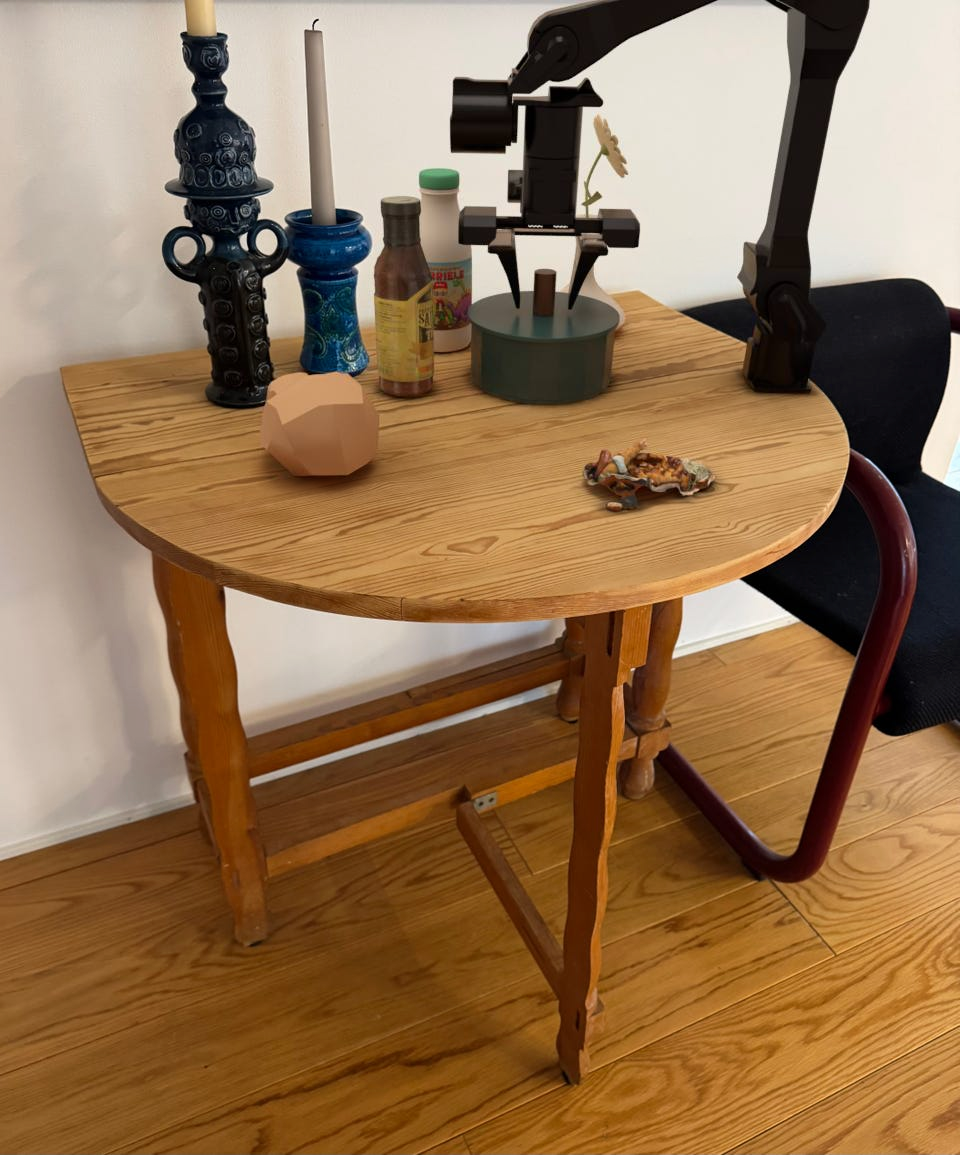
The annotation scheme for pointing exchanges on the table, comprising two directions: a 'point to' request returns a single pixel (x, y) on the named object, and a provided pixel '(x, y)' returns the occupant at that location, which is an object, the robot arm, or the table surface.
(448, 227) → the milk bottle
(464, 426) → the table surface
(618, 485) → the pastry
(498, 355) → the pot
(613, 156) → the flower in vase
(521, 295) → the lid
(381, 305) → the sauce bottle
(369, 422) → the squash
